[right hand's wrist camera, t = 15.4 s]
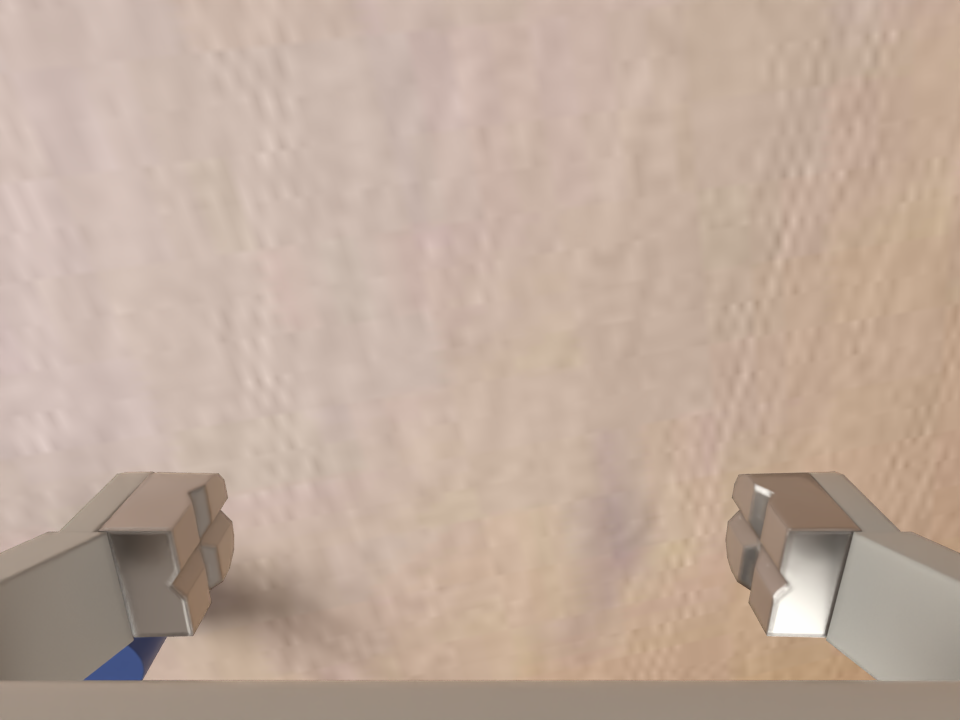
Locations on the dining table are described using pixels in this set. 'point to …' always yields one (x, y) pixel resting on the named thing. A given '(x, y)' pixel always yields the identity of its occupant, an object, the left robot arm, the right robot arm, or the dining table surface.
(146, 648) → the canister
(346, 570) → the dining table surface
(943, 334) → the dining table surface
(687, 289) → the dining table surface
